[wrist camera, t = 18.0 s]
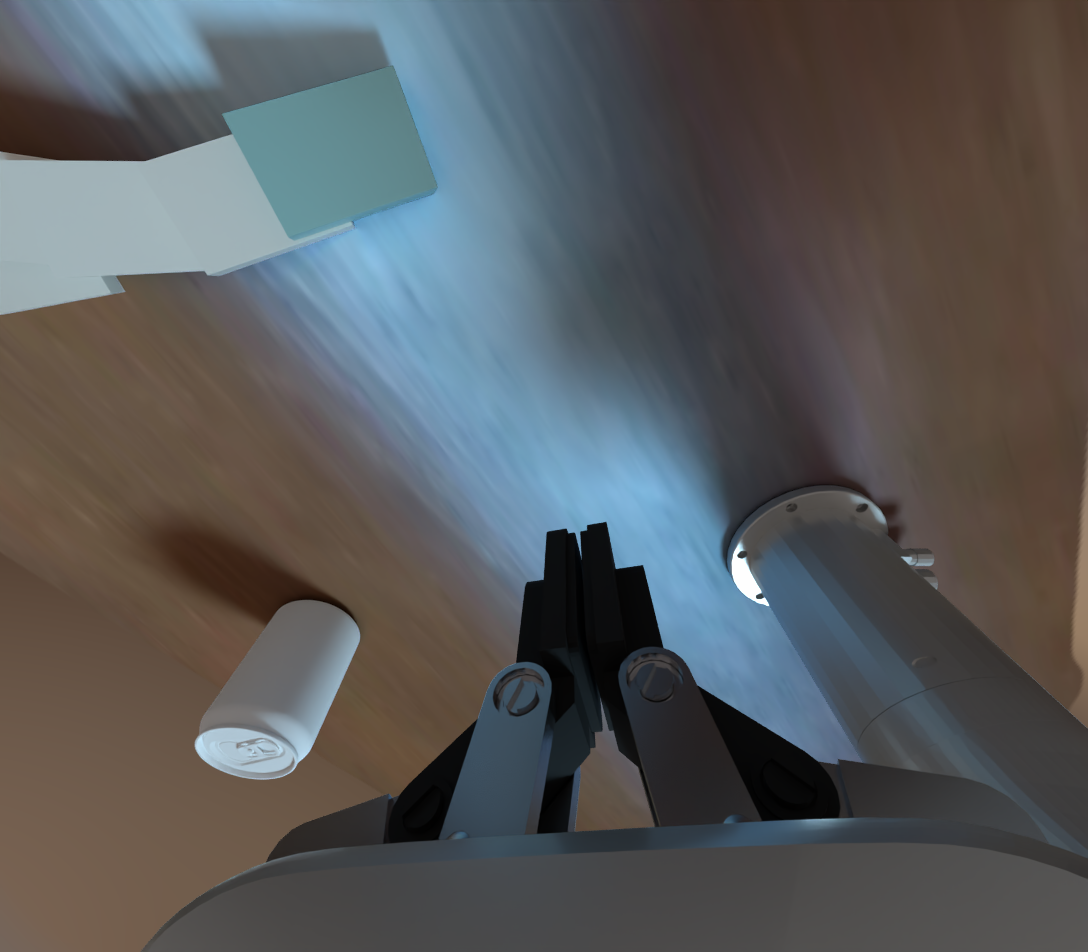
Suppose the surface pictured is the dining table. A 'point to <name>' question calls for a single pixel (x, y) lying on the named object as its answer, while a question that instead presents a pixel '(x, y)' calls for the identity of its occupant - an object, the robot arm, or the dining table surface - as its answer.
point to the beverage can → (279, 692)
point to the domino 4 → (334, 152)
